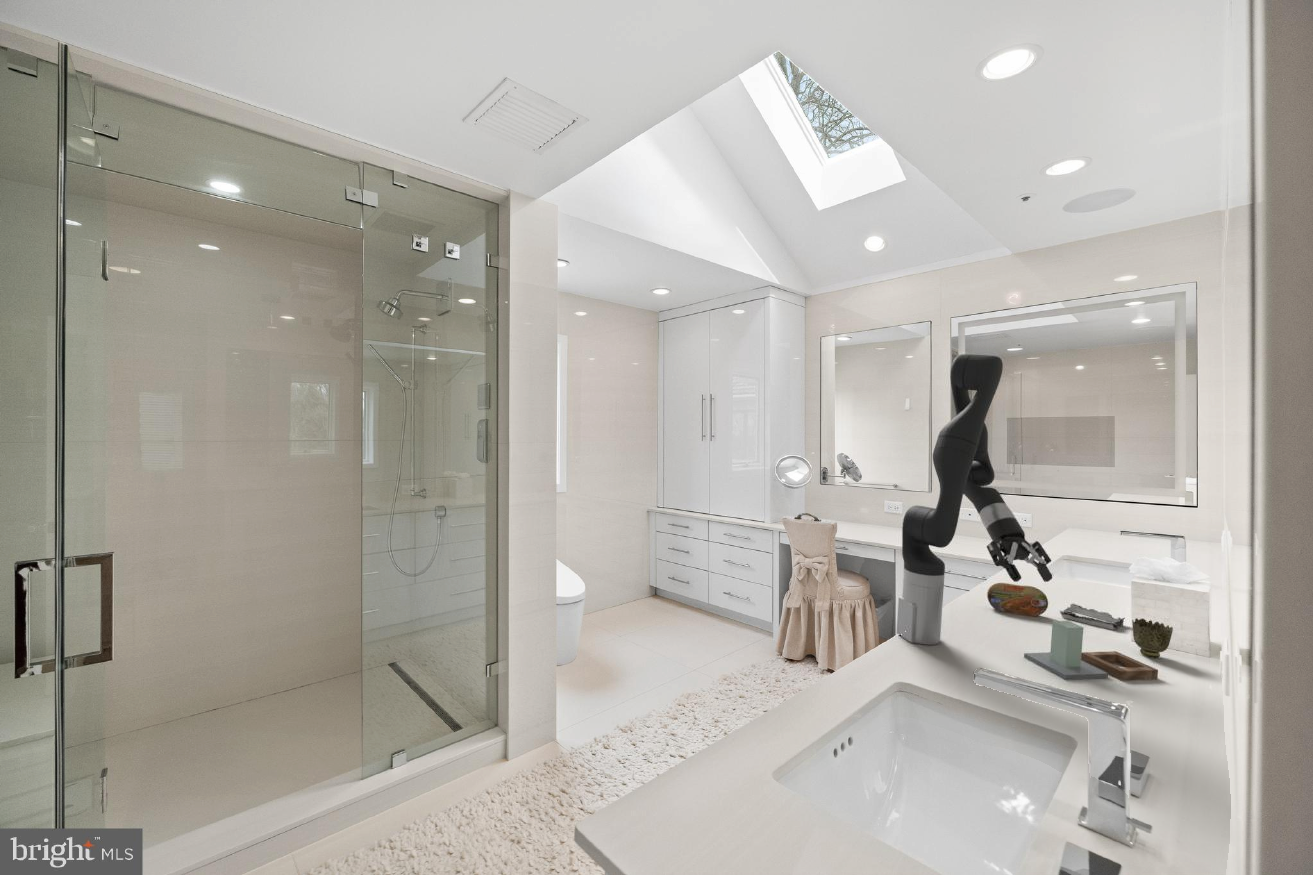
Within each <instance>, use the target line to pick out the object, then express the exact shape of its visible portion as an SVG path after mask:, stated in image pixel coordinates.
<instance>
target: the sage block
mask: <svg viewBox="0 0 1313 875" xmlns="http://www.w3.org/2000/svg"><path fill="white" fill-rule="evenodd" d="M1051 624H1052V626H1051V627H1052V628H1051V639H1050V641H1051V642H1050V660H1052V661H1054V662H1056V663H1058V664H1060V665H1062V666H1064V667H1081V654H1082V651H1083V642H1084V641H1083V640H1084V639H1083V638H1084V626H1081V625H1079V624H1076V623H1074V622H1071V620H1052V623H1051Z"/></svg>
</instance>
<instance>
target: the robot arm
mask: <svg viewBox="0 0 1313 875" xmlns="http://www.w3.org/2000/svg"><path fill="white" fill-rule="evenodd" d="M1003 368H1004V365H1003V360H1002V359H1001V357H999V356H996V355H990V354H989V355H985V354H972V353H970V354H969V353H963V354H962V353H960V354H958V355H957V356H956V357H955V358H954V360H953V361H952V364H951V367H950V370H949V371H950V373H949V374H950V387H951V391H952V397H953V404H954V409H955V413H956V414H955V416H954V417H953V418H952V419H950V420H949V422H947V423H946V424H945V425H944V426H943V427H942V428H941V430H940V431H939V433H938V436H937V440H936V442H935V446H934V449H933V452H932V462H933V467H934V470H935V473H936V476H937V480H938V483H939V496H938V501H937V504H936V507H935V508H934V507H928V506H924V505H923V506H922V505H913V506H912V505H911V507H909V508H908V509H907V511H906V512H905V514H904V517H903V519H902V520H903V521H902V528H901V529H902V530H901V531H902V532H901V533H902V534H901V537H902V539H901V540H902V541H901V542H902V545H901V547H902V549H901V552H902V553H901V554H902V555H901V556H902V559H903V562H904V563H903V565H904V566H903V567H904V568H903V578H902V579H903V580H902V581H903V582H902V594H901V595H902V596H899V597H898V602H897V603H898V604H897V620H896V634H897V635H899V636H900V635H901V634H902V635H901V636H900V637H901V638H903V639H904V640H906V641H907V642H909V643H912V644H913V643H914V644H920V645H925V646H927V645H929V646H931V645H938V644H939V643H940V642H941V635H942V634H941V633H942V617H943V602H944V586H945V572H946V563H945V562H944V561H943V559H941V558H939V557H938V556H937V555H936V554H935V553H933V552H934V551H932V549H931V548H930V546H931V547H935V548H938V549H939V548H943V549H944V548H946V547H948V545H950V543H951V542H952V540H953V539H954V536H955V533H956V531H957V527H958V522H959V517H960V512H961V506H962V502H963V501H962V500H963V496H965V497H966V498H967V499H968V500H969V502H971V503H972V505H973V506H974V508H975V510H976V511H977V514H978V515H979V517H980V520H981V523H982V524H983V527H984V528H985V530H986V533H987V534H988V535H989V537H990V538H991V542H989V544H987V546H986V549H987V551H988V553H989V556H990V557H991V560H992V561H993V563H994V565H995V566H996V567H1002V568H1003V569H1004V570H1005V571H1006V572H1007V574H1008V576H1009V578H1010V579H1011V580H1012V581H1013V582H1015V583H1018V582H1019V581H1020V580H1022V576H1021V573H1020V572H1019V570H1018V569H1017V566H1016V564H1014V561H1017V560H1019V561H1024V562H1026V563H1027V564H1031V565H1032V566H1033V567H1035V568H1036V570H1037V572H1038V574H1039V575H1040V577H1041V579H1042V580H1043V582H1045V583H1048V582H1050V581H1051V580H1052V579H1053V575H1052V572H1051V570H1050V569H1049V568H1048V566H1047V565H1048V564H1050V563H1052V559H1051V558H1050V556H1049V555H1048V554H1047V551H1045V549H1044V547H1043V545H1041V543H1040V542H1039V541H1037V540H1036V541H1034V542H1033V543H1032V542H1031V543H1029V542H1028V541H1027V539H1026V534H1025V533H1026V532H1025V530H1024V529H1023V528H1022V525H1021V524H1020V523H1019V521H1018V519H1017V518H1016V516H1015V514H1014V513H1013V511H1012V510H1011V509H1010V507H1009V506H1008V505H1007V504H1006V502H1005V500H1004V498H1003V497H1002V495H1001V493H1000V491H999V490H998V489H996V488H994V487H989V486H990V485H991V484H992V483H993V482H994V479H995V477H996V475H995V471H994V468H993V465H992V462H991V460H990V455H989V451H988V449H989V446H988V445H989V432H988V428H987V425H986V423H985V421H986V418H987V415H988V412H989V410H990V406H991V404H992V402H993V400H994V397H995V395H996V392H997V390H998V387H999V384H1000V381H1001V378H1002V375H1003ZM969 391H976V392H975V393H974V396H973V398H972V399H971V398H970V395H969V394H970V393H969ZM987 486H988V487H987ZM1030 555H1031V557H1030ZM905 631H906V632H905Z"/></svg>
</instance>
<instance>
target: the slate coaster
mask: <svg viewBox="0 0 1313 875" xmlns="http://www.w3.org/2000/svg"><path fill="white" fill-rule="evenodd" d="M1023 658H1024V659H1026V660H1028V661H1030V662H1032V663H1033V664H1035V665H1037V666H1038V667H1041V668H1043V669H1044V670H1047V671H1049V673H1052V674H1054V675H1056V676H1058V677H1059V678H1060V679H1063V680H1065V681H1066V680H1089V679H1090V680H1091V679H1092V680H1093V679H1108V678H1109V673H1107V672H1105V671H1103V670H1101V669H1099V668H1097V667H1094V666H1092V665H1090V664H1088V663H1086V662H1084V661H1082V660H1081V667H1064V666H1062V665H1060V664H1058V663H1056V662H1054V661H1052V660H1050V652H1049V651H1048V652H1030V653H1029V652H1024V653H1023Z"/></svg>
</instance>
